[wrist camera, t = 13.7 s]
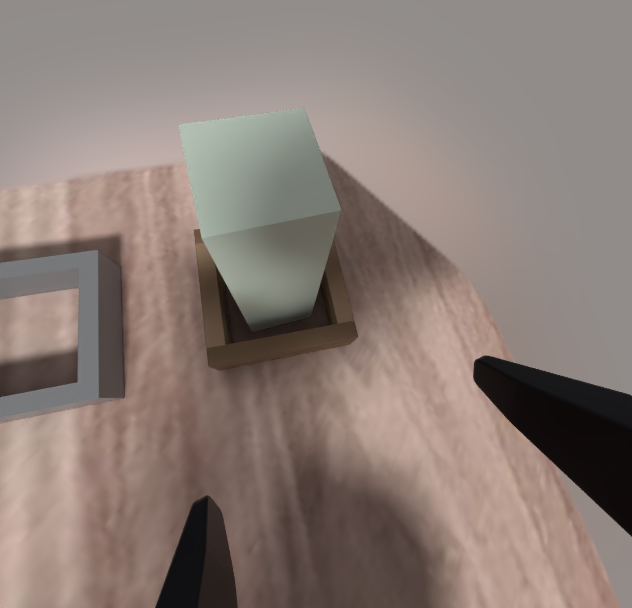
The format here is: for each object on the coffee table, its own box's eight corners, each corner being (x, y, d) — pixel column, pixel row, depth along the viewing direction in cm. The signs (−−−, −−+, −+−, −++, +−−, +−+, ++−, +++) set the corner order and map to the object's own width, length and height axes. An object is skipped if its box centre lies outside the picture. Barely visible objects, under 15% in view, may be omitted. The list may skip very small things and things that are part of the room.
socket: (124, 397, 17) (98, 397, 15) (-43, 431, 16) (-99, 437, 14) (120, 267, 20) (97, 249, 17) (-25, 288, 19) (-71, 272, 16)
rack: (349, 344, 20) (358, 336, 17) (218, 370, 18) (208, 366, 16) (322, 232, 22) (326, 212, 20) (204, 248, 21) (193, 229, 18)
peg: (310, 316, 20) (341, 210, 9) (251, 332, 19) (201, 238, 8) (295, 264, 21) (304, 107, 10) (239, 276, 20) (178, 124, 9)
